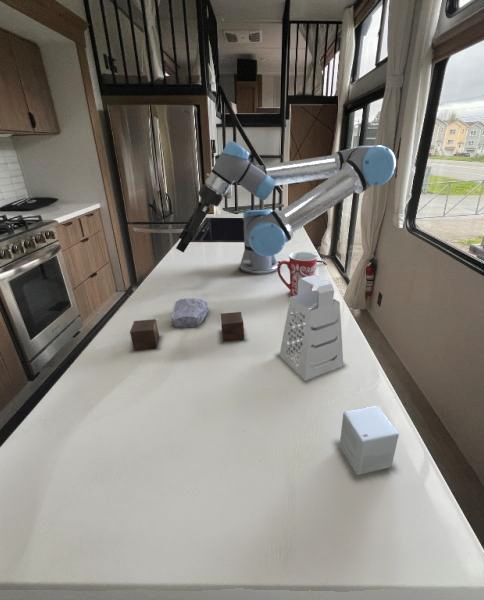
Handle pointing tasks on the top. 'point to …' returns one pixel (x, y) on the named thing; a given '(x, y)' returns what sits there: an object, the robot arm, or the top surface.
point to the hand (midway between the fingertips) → (180, 244)
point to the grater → (313, 328)
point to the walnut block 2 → (232, 326)
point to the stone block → (189, 312)
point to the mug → (298, 269)
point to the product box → (368, 439)
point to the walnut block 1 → (144, 334)
